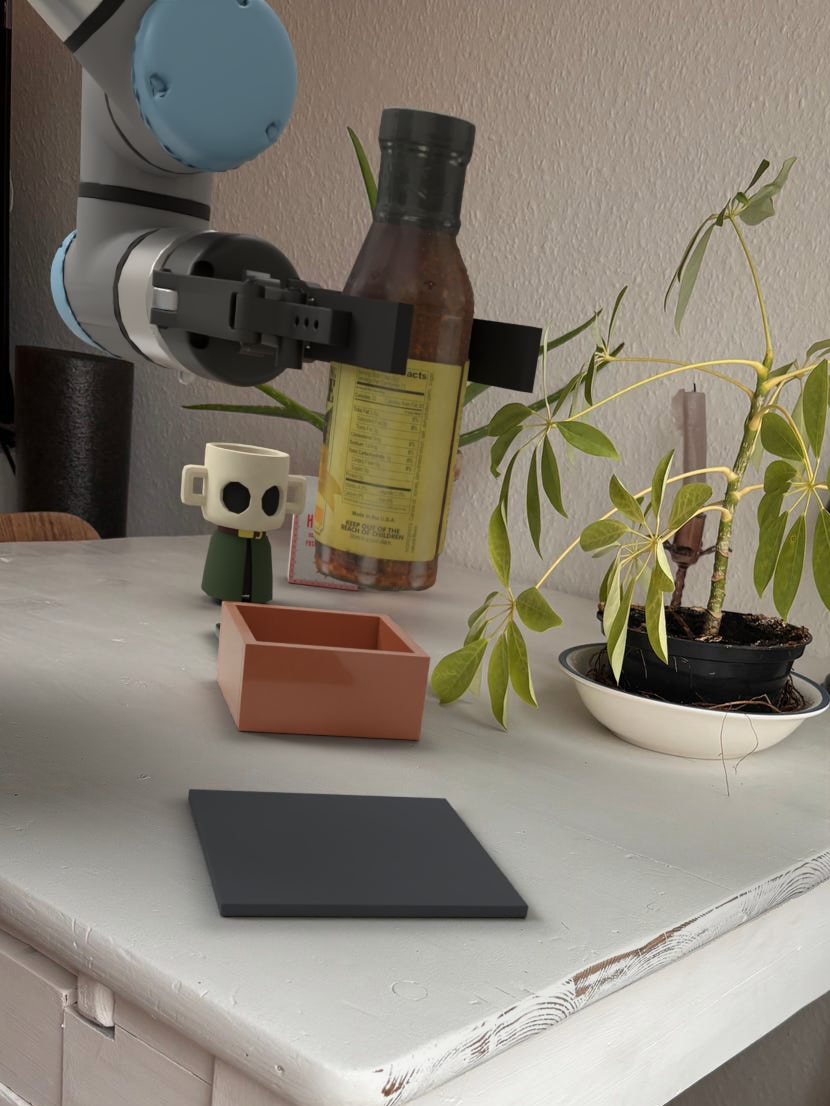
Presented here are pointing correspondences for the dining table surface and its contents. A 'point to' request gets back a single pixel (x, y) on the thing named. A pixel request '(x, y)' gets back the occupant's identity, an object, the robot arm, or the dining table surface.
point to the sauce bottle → (431, 375)
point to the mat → (346, 857)
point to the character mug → (242, 515)
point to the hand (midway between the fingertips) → (468, 350)
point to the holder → (320, 672)
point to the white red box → (308, 546)
